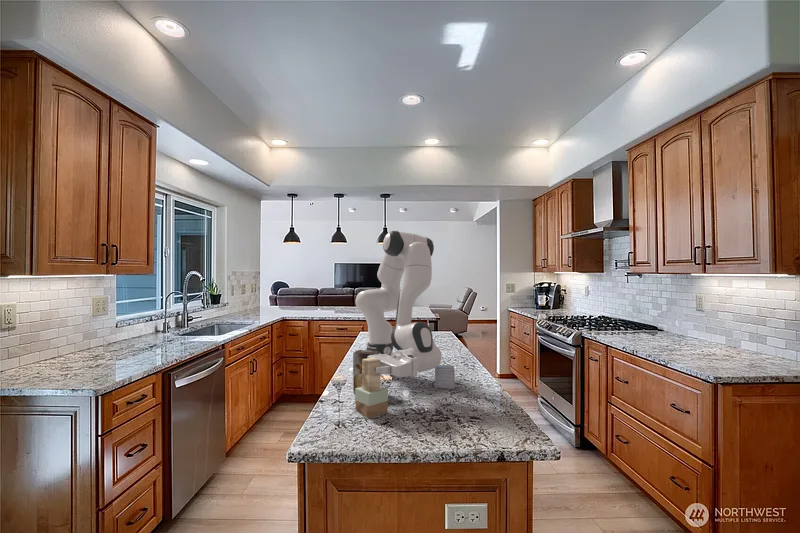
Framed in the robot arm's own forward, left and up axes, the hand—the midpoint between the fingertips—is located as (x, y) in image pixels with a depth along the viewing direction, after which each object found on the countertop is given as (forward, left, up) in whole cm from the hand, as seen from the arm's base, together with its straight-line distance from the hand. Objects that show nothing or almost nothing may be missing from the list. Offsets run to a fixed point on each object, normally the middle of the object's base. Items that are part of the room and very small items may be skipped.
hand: (369, 367), depth 136 cm
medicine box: (-7, +40, -15) cm, 43 cm away
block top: (0, +1, -11) cm, 11 cm away
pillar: (0, +1, -7) cm, 7 cm away
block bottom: (0, +1, -15) cm, 15 cm away
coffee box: (-19, +10, -15) cm, 26 cm away
